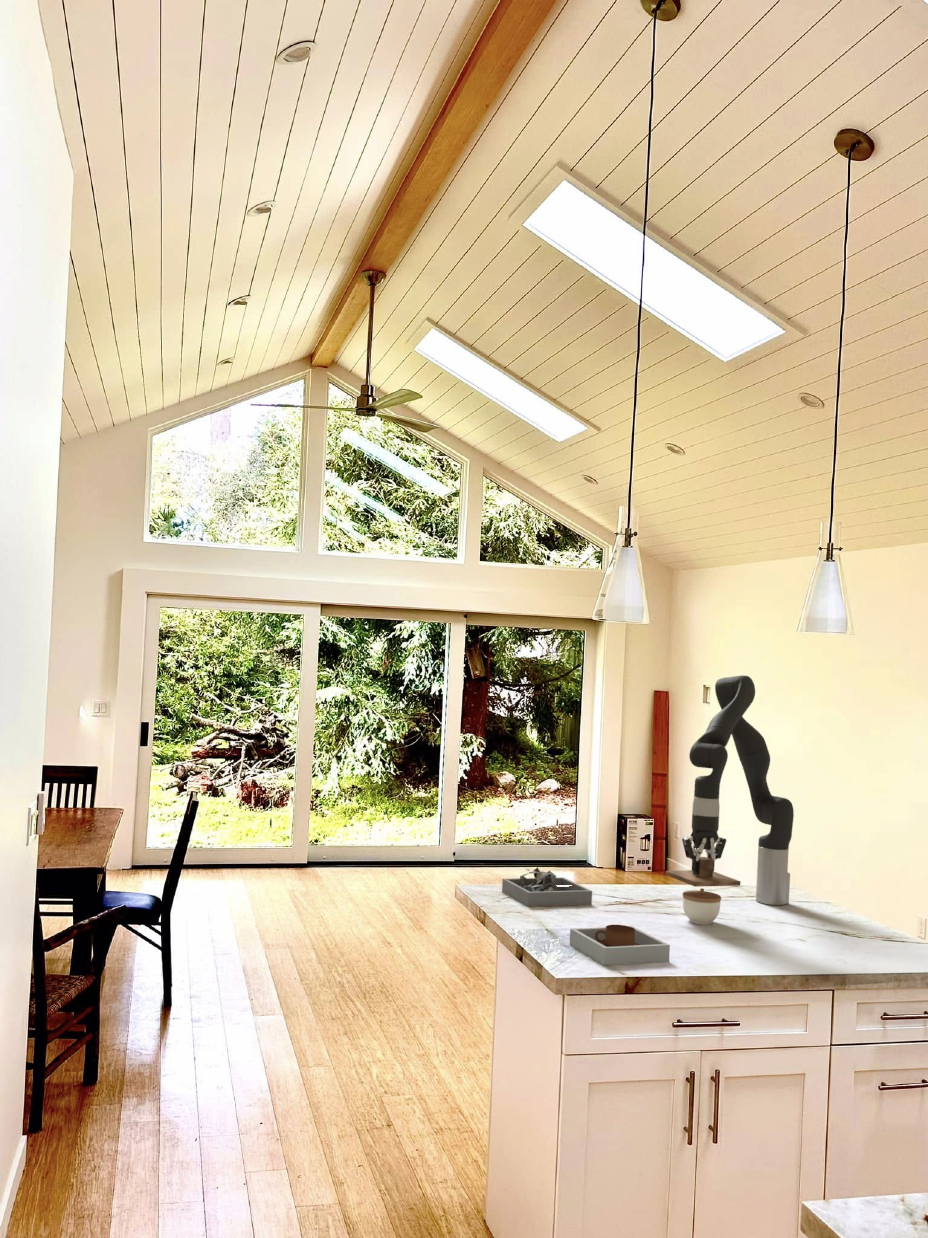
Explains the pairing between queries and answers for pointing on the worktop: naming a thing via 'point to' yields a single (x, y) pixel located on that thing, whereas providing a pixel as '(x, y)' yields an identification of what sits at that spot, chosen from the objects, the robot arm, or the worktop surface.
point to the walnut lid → (703, 876)
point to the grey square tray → (620, 947)
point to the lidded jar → (701, 906)
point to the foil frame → (548, 893)
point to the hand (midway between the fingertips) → (702, 873)
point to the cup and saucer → (617, 936)
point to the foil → (538, 881)
